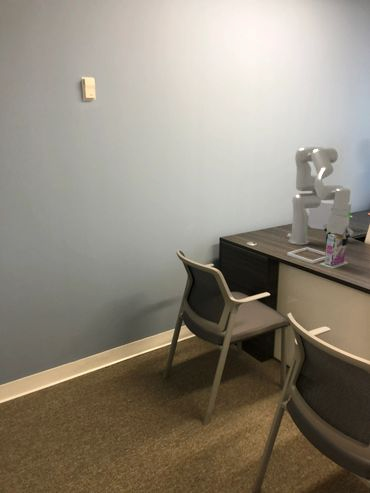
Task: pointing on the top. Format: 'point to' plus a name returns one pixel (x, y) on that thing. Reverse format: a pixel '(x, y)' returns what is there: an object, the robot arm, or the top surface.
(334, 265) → the rubber mat
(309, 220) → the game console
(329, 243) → the candy bar box
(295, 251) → the grey square frame
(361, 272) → the top surface
